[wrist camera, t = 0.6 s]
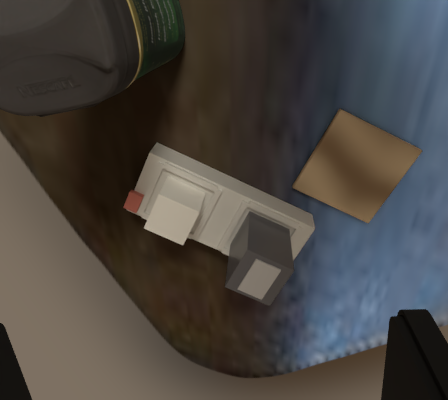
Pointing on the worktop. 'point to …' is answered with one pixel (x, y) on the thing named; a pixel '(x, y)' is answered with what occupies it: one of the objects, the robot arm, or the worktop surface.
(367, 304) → the worktop surface
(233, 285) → the block
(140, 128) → the worktop surface
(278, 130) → the worktop surface
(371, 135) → the coaster
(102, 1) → the coffee jar
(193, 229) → the power strip
